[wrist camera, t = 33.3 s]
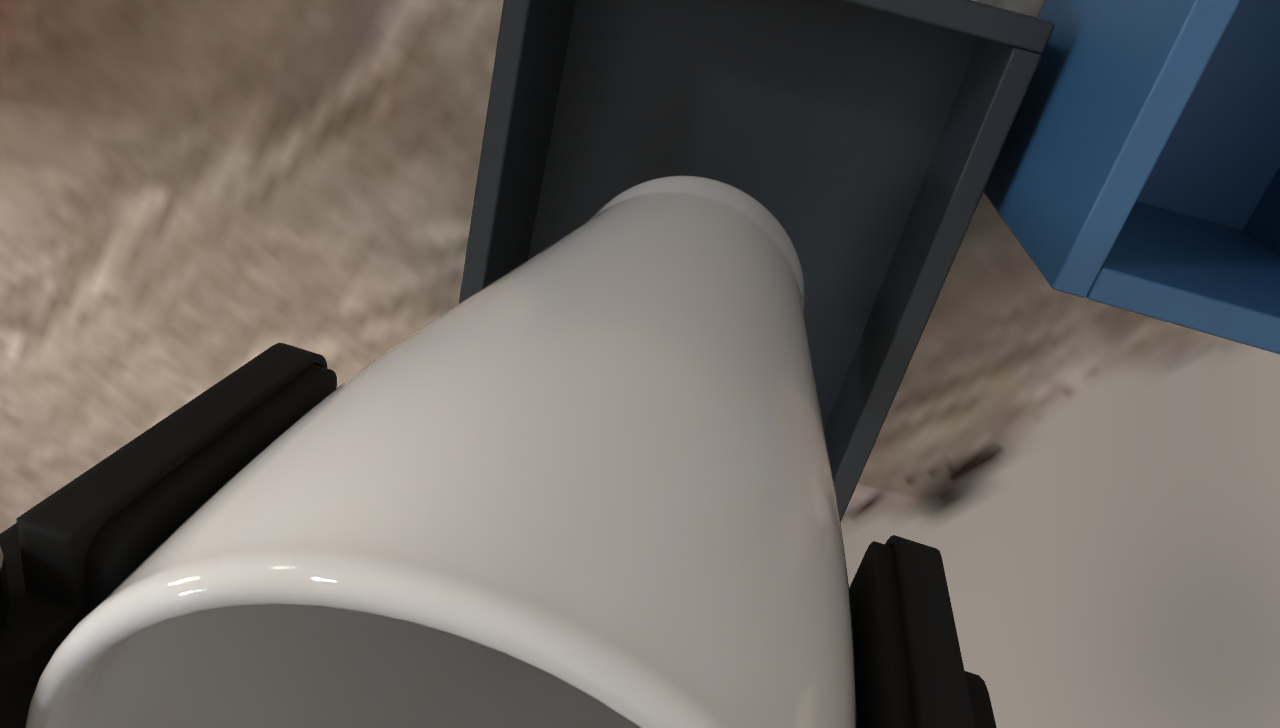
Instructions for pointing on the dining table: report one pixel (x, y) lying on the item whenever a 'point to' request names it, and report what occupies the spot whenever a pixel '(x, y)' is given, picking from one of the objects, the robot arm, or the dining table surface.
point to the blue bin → (1154, 161)
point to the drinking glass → (521, 516)
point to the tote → (767, 151)
